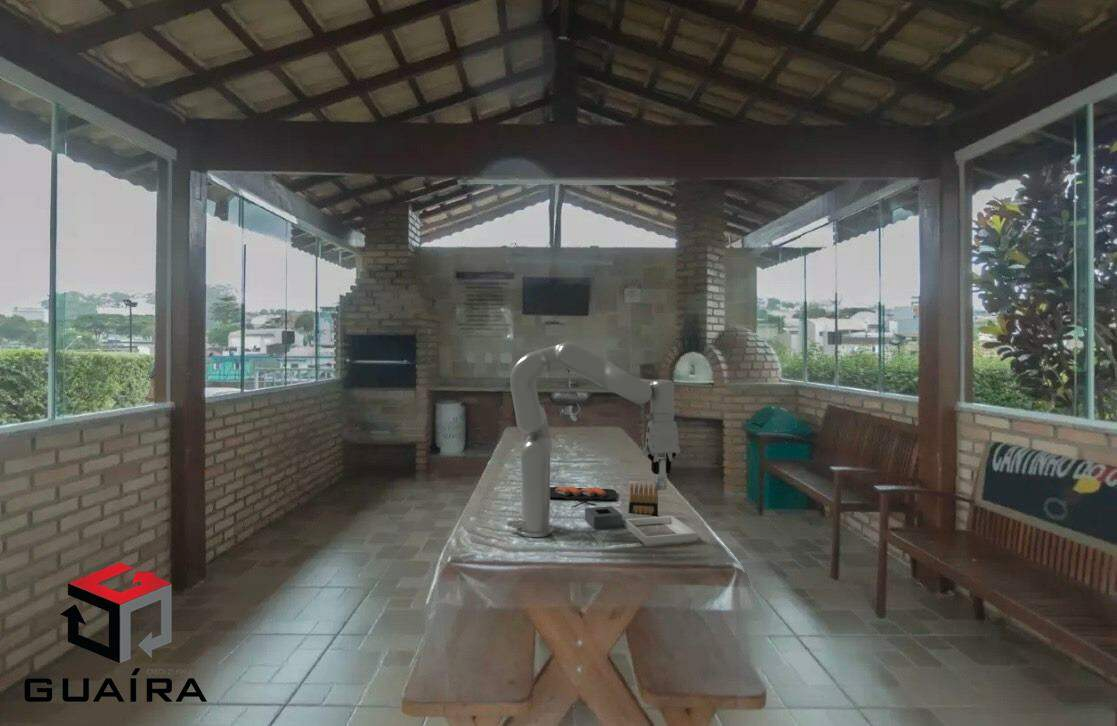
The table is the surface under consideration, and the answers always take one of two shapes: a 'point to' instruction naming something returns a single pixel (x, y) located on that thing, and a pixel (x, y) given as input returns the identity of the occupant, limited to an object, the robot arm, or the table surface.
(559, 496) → the sushi plate
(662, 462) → the pin
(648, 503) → the ammunition clip
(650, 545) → the tray
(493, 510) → the table surface
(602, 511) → the pin block
